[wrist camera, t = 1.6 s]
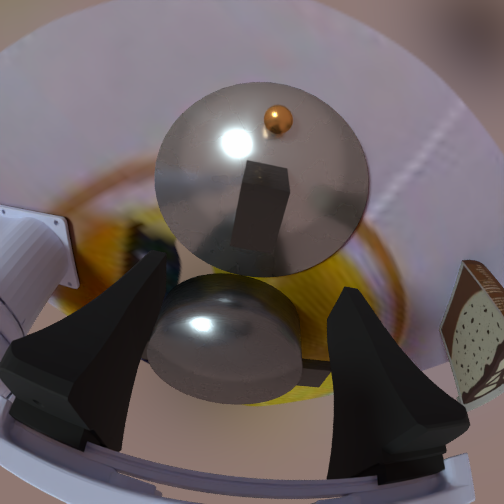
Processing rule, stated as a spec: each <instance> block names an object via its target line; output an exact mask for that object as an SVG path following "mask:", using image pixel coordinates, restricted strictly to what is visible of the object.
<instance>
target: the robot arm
mask: <svg viewBox="0 0 504 504" xmlns="http://www.w3.org/2000/svg"><path fill="white" fill-rule="evenodd" d="M57 221H58V222H57ZM166 254H167V253H163V252H158V251H153V250H151V251H150V252H149V253H148V254H147V255H145V256H144V257H143V258H142V259H141V260H140V261H139V262H138V263H137V264H136V265H135V266H134V267H133V268H131V269H130V270H129V271H128V272H127V273H126V274H125V275H124V276H122V277H121V278H120V279H119V280H118V281H117V282H116V283H114V284H113V285H112V286H111V287H109V288H108V289H107V290H106V291H104V292H103V293H102V294H101V295H99V296H98V297H96V298H95V299H94V300H92V301H91V302H90V303H88V304H87V305H85V306H84V307H82V308H81V309H79V310H77V311H76V312H74V313H72V314H71V315H69V316H67V317H65V318H64V319H62V320H60V321H58V322H56V323H54V324H52V325H50V326H48V327H46V328H44V329H42V330H39V331H37V332H35V333H32V334H29V335H27V333H28V332H29V330H30V328H31V327H32V325H33V323H34V322H35V320H36V318H37V317H38V315H39V313H40V312H41V310H42V309H43V307H44V306H45V304H46V303H47V301H48V299H49V298H50V296H51V295H52V293H53V292H54V290H55V289H56V287H57V286H58V284H60V285H64V286H67V287H70V288H74V289H78V287H79V286H80V284H79V280H78V275H77V271H76V266H75V262H74V257H73V252H72V247H71V241H70V236H69V230H68V224H67V220H66V219H65V218H64V217H61V216H56V215H51V214H46V213H41V212H36V211H31V210H25V209H20V208H15V207H10V206H5V205H0V465H1V466H2V467H4V468H5V469H7V470H8V471H10V472H11V473H13V474H14V475H16V476H18V477H19V478H21V479H22V480H24V481H26V482H28V483H29V484H31V485H33V486H35V487H36V488H38V489H40V490H42V491H43V492H45V493H47V494H49V495H51V496H53V497H55V498H57V499H59V500H61V501H63V502H65V503H67V504H202V503H195V502H188V501H182V500H176V499H171V498H165V497H162V493H161V492H160V491H158V490H156V487H155V486H154V485H152V484H149V483H146V482H143V481H140V480H137V479H134V478H131V477H129V476H126V475H130V476H133V477H136V478H140V479H143V480H147V481H151V482H155V483H159V484H164V485H168V486H173V487H178V488H183V489H188V490H194V491H200V492H206V493H213V494H221V495H229V496H240V497H252V498H271V499H272V498H274V499H310V498H331V497H340V498H334V499H326V500H318V501H317V502H315V503H312V504H469V503H471V502H473V501H474V500H475V493H474V486H473V480H472V474H471V468H470V463H469V458H468V454H467V453H463V454H460V455H456V456H452V457H449V458H446V459H444V460H443V455H442V454H444V453H446V444H448V443H449V442H451V441H453V440H454V439H456V438H457V437H459V436H460V435H462V434H463V433H464V432H465V431H467V430H468V428H469V426H470V422H469V418H468V414H467V411H466V407H465V406H463V405H462V404H460V403H459V402H458V401H456V400H455V399H453V398H452V397H450V396H449V395H448V394H446V393H445V392H444V391H443V390H442V389H440V388H439V387H438V386H437V385H436V384H434V383H433V382H432V381H431V380H430V379H429V378H428V377H427V376H426V375H425V374H424V373H423V372H422V371H421V370H420V369H419V368H418V367H417V366H416V365H415V364H414V363H413V362H412V361H411V360H410V359H409V357H408V356H407V355H406V354H405V353H404V352H403V351H402V349H401V348H400V347H399V346H398V344H397V343H396V342H395V340H394V339H393V338H392V337H391V335H390V334H389V332H388V331H387V330H386V328H385V327H384V326H383V324H382V323H381V321H380V320H379V318H378V317H377V316H376V314H375V313H374V311H373V310H372V308H371V307H370V305H369V304H368V302H367V301H366V300H365V298H364V297H363V295H362V294H361V293H360V291H359V290H358V289H356V288H350V287H344V288H343V290H342V292H341V294H340V296H339V298H338V300H337V302H336V304H335V306H334V308H333V309H332V311H331V313H330V315H329V317H328V319H327V343H328V351H329V358H330V365H331V373H332V381H333V390H334V422H333V438H332V448H331V456H330V463H329V469H328V475H327V480H273V479H256V478H245V477H234V476H226V475H219V474H211V473H205V472H199V471H193V470H188V469H183V468H178V467H173V466H168V465H164V464H160V463H155V462H152V461H148V460H144V459H140V458H137V457H133V456H130V455H126V454H123V453H120V452H119V451H121V448H122V441H123V434H124V427H125V422H126V417H127V412H128V407H129V402H130V398H131V393H132V389H133V385H134V381H135V377H136V373H137V369H138V365H139V363H140V360H141V357H142V354H143V352H144V349H145V347H146V344H147V342H148V339H149V337H150V335H151V332H152V330H153V327H154V325H155V323H156V320H157V318H158V315H159V313H160V310H161V306H162V303H163V299H164V296H165V292H166ZM26 335H27V336H26ZM118 472H119V473H118ZM120 473H122V474H120ZM123 474H126V475H123Z"/></svg>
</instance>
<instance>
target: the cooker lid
mask: <svg viewBox="0 0 504 504" xmlns="http://www.w3.org/2000/svg"><path fill="white" fill-rule="evenodd" d="M155 191H156V197H157V201H158V204H159V208H160V211H161V213H162V215H163V217H164V220H165V222H166V223H167V225H168V227H169V228H170V230H171V231H172V233H173V234H174V235H175V237H176V238H177V239H178V240H179V241H180V242H181V243H182V244H183V245H184V246H185V247H186V248H187V249H188V250H189V251H190V252H192V253H193V254H194V255H195V256H197V257H198V258H200V259H202V260H203V261H205V262H206V263H208V264H210V265H212V266H214V267H216V268H219V269H221V270H224V271H227V272H230V273H234V274H238V275H243V276H250V277H277V276H283V275H289V274H293V273H296V272H300V271H303V270H305V269H308V268H310V267H313V266H314V265H316V264H318V263H320V262H322V261H323V260H325V259H326V258H328V257H329V256H331V255H332V254H333V253H334V252H336V251H337V250H338V249H339V248H340V247H341V246H342V245H343V244H344V243H345V242H346V241H347V239H348V238H349V237H350V236H351V234H352V233H353V231H354V230H355V228H356V227H357V225H358V223H359V221H360V219H361V217H362V214H363V211H364V208H365V205H366V200H367V195H368V170H367V164H366V160H365V156H364V152H363V150H362V148H361V145H360V143H359V141H358V139H357V137H356V136H355V134H354V132H353V131H352V129H351V128H350V126H349V125H348V124H347V123H346V122H345V120H344V119H343V118H342V117H341V116H340V115H339V114H338V113H337V112H336V111H335V110H334V109H332V108H331V107H330V106H329V105H328V104H326V103H325V102H323V101H322V100H320V99H319V98H317V97H316V96H314V95H312V94H310V93H307V92H305V91H303V90H301V89H298V88H295V87H291V86H288V85H284V84H278V83H271V82H250V83H242V84H236V85H233V86H229V87H226V88H222V89H220V90H218V91H215V92H213V93H211V94H209V95H207V96H205V97H204V98H202V99H201V100H199V101H197V102H196V103H194V104H193V105H192V106H191V107H189V108H188V109H187V110H186V111H185V112H184V113H182V115H181V116H180V117H179V118H178V119H177V120H176V121H175V123H174V124H173V125H172V127H171V128H170V130H169V131H168V133H167V134H166V136H165V138H164V140H163V143H162V145H161V147H160V150H159V153H158V157H157V160H156V167H155Z"/></svg>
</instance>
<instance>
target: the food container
mask: <svg viewBox="0 0 504 504" xmlns="http://www.w3.org/2000/svg"><path fill="white" fill-rule="evenodd" d="M439 331H440V334H441V337H442V340H443V343H444V346H445V349H446V352H447V355H448V358H449V362H450V365H451V369H452V372H453V376H454V379H455V382H456V386H457V390H458V394H459V396H458V397H457V401H458V402H459V403H460V404H462V405H463V406H465V407H466V411H467V412H468V411H470V410H473V409H475V408H477V407H479V406H481V405H483V404H485V403H487V402H489V401H491V400H492V399H494V398H496V397H497V396H499V395H500V394H502V393H503V392H504V288H503V287H502V286H501V284H500V283H499V282H498V281H497V279H496V278H495V277H494V276H493V275H492V273H491V272H490V271H489V270H488V269H487V268H486V267H485V266H484V264H482V263H480V262H478V261H475V260H462V263H461V266H460V269H459V273H458V276H457V279H456V283H455V286H454V289H453V292H452V295H451V298H450V301H449V303H448V306H447V309H446V312H445V314H444V317H443V320H442V322H441V325H440V327H439Z"/></svg>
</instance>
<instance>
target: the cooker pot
mask: <svg viewBox="0 0 504 504" xmlns="http://www.w3.org/2000/svg"><path fill="white" fill-rule="evenodd" d="M141 358H143V359H147V360H148V361H149V364H150V366H151V367H152V369H153V370H154V372H155V373H156V374H157V375H158V376H159V377H160V378H161V379H162V380H163V381H165V382H166V383H167V384H169V385H170V386H172V387H173V388H175V389H177V390H179V391H181V392H183V393H185V394H187V395H190V396H193V397H196V398H199V399H202V400H206V401H210V402H215V403H222V404H254V403H260V402H265V401H269V400H272V399H275V398H278V397H280V396H282V395H284V394H286V393H287V392H289V391H290V390H291V389H293V388H294V387H295V386H296V385H298V386H309V387H320V385H321V384H322V383H323V382H324V380H325V379H326V378H327V376H328V375H329V374H330V372H331V365H330V361H320V360H310V359H302V352H301V335H300V320H299V316H298V313H297V311H296V308H295V307H294V305H293V304H292V302H291V301H290V300H289V299H288V298H287V297H286V296H285V295H284V294H282V293H281V292H280V291H279V290H277V289H275V288H274V287H272V286H271V285H268V284H266V283H264V282H262V281H259V280H256V279H253V278H250V277H246V276H242V275H235V274H221V273H219V274H207V275H201V276H197V277H194V278H190V279H188V280H186V281H184V282H182V283H180V284H178V285H177V286H175V287H174V288H173V289H172V290H171V291H170V292H169V293H168V295H167V296H166V298H165V300H164V302H163V304H162V307H161V310H160V313H159V315H158V318H157V321H156V324H155V327H154V330H153V332H151V335H150V337H149V339H148V342H147V344H146V347H145V349H144V352H143V354H142V357H141Z"/></svg>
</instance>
